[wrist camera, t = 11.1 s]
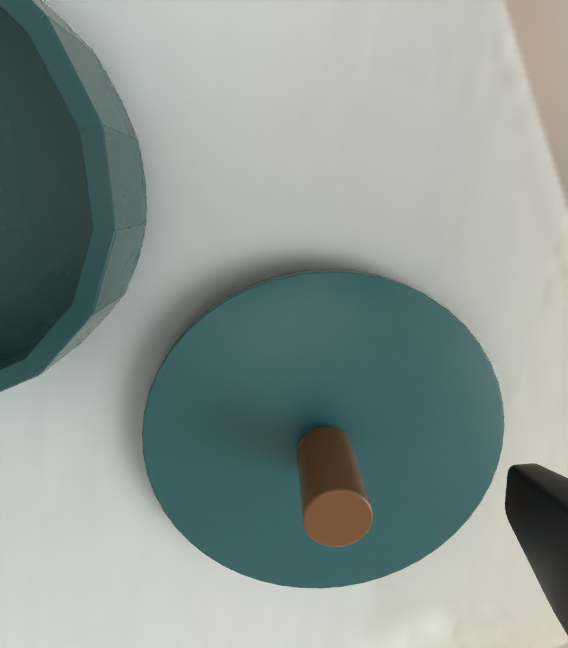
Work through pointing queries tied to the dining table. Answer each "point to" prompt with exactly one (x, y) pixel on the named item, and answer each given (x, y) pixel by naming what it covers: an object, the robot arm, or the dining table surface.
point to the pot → (60, 191)
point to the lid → (323, 429)
